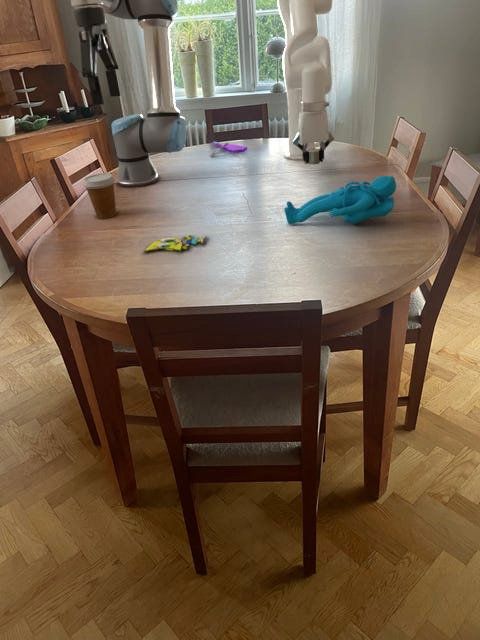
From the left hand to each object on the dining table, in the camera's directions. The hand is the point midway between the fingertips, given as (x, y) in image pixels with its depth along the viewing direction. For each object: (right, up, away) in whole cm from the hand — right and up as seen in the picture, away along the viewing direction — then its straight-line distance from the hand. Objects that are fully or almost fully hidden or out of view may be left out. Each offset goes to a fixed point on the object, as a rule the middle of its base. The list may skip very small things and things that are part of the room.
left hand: (107, 100), depth 131 cm
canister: (+62, -4, +41) cm, 75 cm away
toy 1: (+19, -39, 0) cm, 44 cm away
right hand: (+62, -3, +41) cm, 74 cm away
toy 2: (+64, -32, +5) cm, 72 cm away
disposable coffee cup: (-7, -26, +24) cm, 36 cm away
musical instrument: (+28, +15, +83) cm, 89 cm away
